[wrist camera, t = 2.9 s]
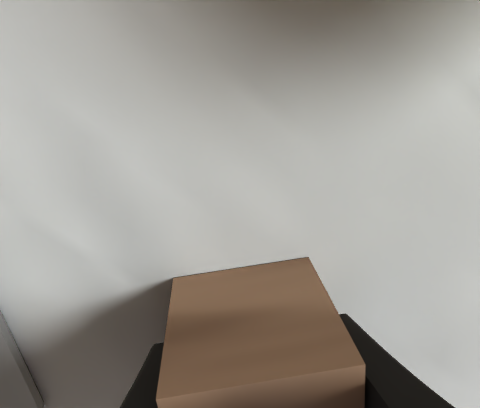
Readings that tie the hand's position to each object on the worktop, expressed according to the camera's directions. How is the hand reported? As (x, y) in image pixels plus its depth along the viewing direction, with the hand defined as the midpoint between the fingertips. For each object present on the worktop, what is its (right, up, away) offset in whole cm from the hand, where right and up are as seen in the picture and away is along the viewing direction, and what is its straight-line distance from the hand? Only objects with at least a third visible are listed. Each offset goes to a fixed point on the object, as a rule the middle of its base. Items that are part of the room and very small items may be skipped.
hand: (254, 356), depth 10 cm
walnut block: (0, +1, +1) cm, 1 cm away
